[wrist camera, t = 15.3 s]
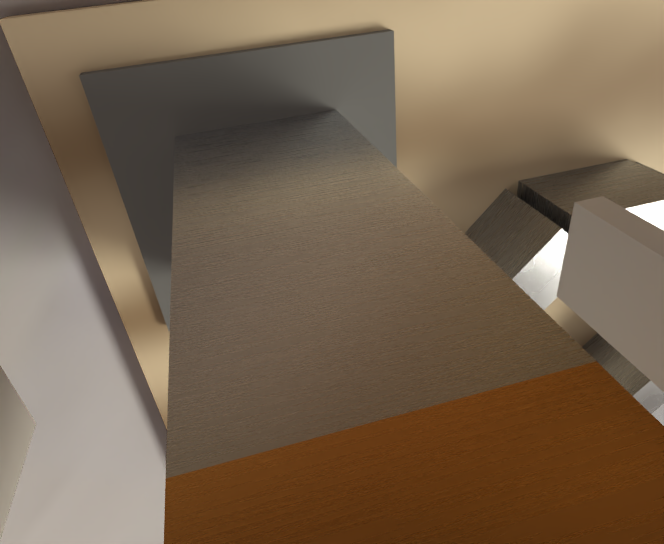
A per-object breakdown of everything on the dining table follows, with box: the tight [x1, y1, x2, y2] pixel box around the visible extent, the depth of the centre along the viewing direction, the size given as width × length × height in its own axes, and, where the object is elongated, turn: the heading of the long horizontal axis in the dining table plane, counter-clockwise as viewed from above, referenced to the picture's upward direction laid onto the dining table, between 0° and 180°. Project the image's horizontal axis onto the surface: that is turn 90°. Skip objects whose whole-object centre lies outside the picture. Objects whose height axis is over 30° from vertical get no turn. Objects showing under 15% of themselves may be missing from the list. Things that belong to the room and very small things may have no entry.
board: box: [0, 0, 664, 429], centre depth 21 cm, size 22×26×1 cm
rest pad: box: [79, 29, 397, 331], centre depth 17 cm, size 9×9×1 cm
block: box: [164, 110, 664, 544], centre depth 11 cm, size 5×5×14 cm
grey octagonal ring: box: [464, 159, 664, 413], centre depth 22 cm, size 13×13×4 cm
